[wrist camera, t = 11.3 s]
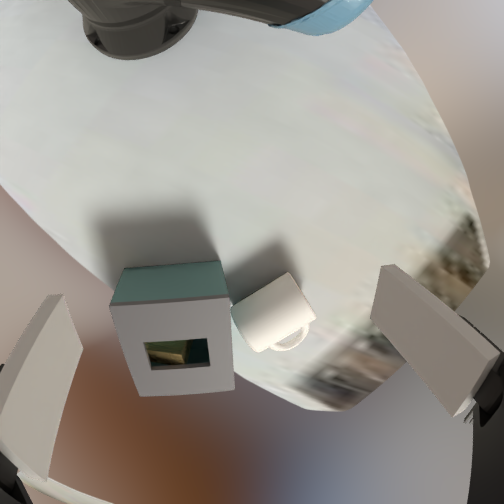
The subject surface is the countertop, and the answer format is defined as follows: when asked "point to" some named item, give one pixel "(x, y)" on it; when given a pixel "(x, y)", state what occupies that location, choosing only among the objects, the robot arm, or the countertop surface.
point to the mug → (273, 315)
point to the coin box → (176, 326)
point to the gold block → (169, 351)
